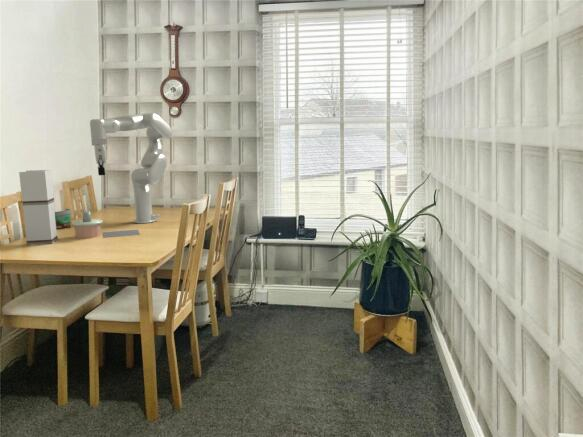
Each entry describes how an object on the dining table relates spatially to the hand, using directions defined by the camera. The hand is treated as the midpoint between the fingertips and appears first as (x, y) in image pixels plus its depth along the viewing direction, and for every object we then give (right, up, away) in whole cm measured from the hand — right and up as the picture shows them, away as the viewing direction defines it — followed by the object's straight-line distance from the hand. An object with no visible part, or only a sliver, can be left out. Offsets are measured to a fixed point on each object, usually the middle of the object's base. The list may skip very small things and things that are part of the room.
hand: (101, 174), depth 285 cm
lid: (-2, -26, -16) cm, 31 cm away
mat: (+14, -32, -10) cm, 36 cm away
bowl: (-1, -33, -15) cm, 36 cm away
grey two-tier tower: (-20, -36, -26) cm, 48 cm away
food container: (-25, -29, +14) cm, 41 cm away
